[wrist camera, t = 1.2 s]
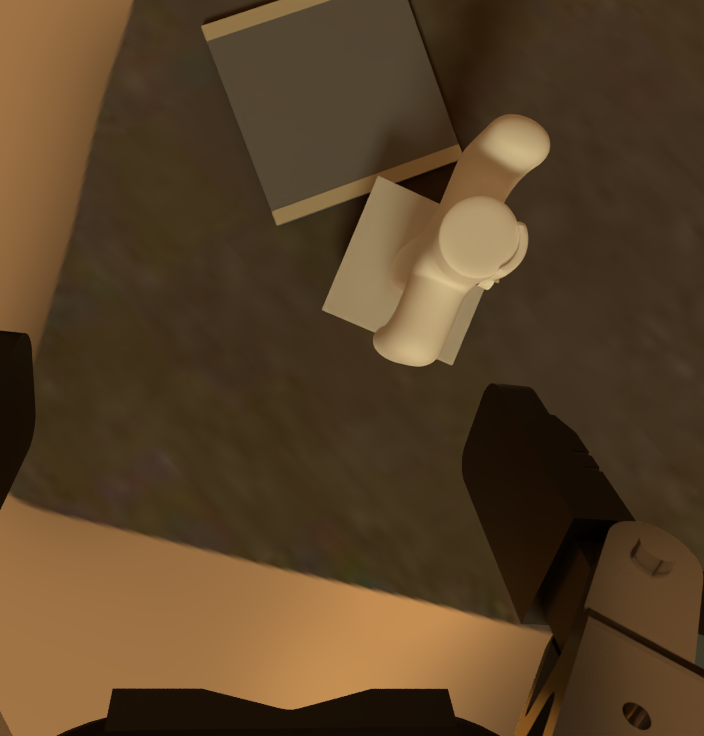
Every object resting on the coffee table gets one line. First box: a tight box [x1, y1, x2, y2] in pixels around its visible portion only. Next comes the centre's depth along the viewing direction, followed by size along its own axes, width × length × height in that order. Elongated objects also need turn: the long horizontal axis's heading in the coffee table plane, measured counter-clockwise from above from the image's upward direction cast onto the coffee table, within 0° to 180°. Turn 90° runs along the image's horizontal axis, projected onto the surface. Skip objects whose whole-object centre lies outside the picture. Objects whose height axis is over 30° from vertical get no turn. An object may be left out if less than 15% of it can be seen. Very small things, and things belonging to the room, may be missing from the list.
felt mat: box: [201, 0, 462, 227], centre depth 35 cm, size 11×11×1 cm
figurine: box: [322, 114, 550, 366], centre depth 29 cm, size 7×9×15 cm
